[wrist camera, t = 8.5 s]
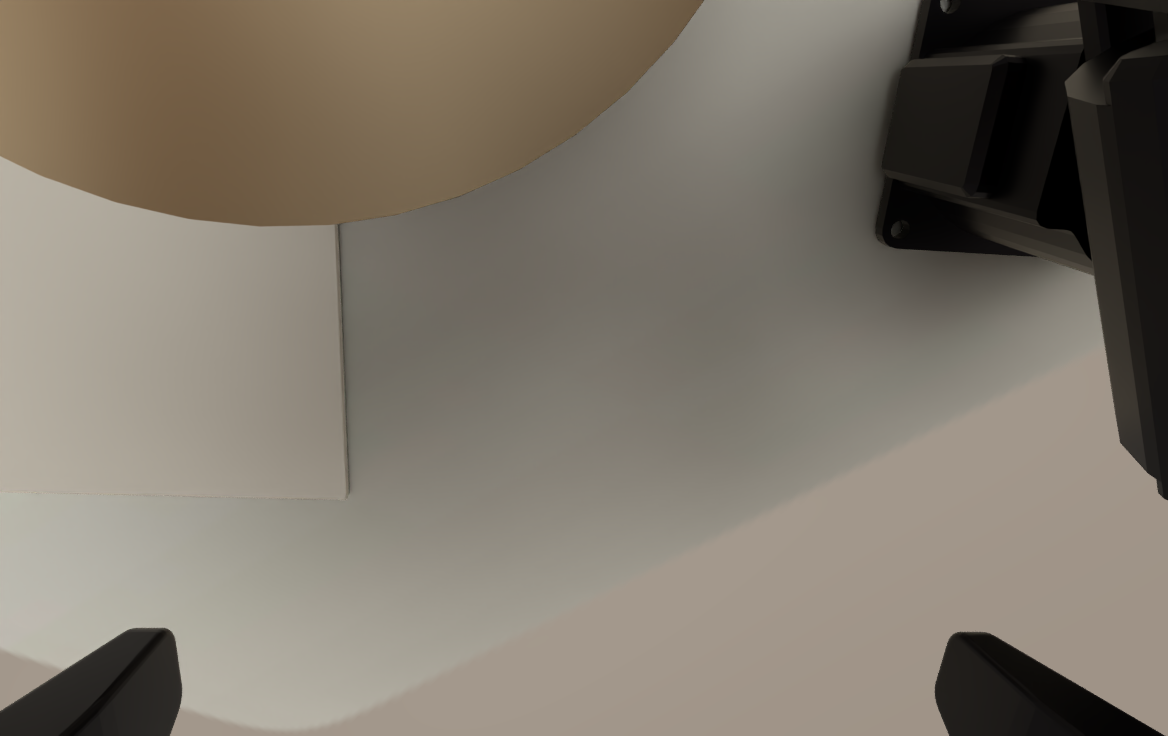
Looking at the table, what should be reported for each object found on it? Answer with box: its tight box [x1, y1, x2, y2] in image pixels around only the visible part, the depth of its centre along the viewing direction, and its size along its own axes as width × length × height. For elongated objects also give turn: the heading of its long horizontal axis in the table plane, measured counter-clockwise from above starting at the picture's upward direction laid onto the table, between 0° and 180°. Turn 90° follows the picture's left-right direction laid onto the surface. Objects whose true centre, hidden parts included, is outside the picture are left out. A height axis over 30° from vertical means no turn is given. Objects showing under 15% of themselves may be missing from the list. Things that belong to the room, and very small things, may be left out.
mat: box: [0, 156, 349, 500], centre depth 19 cm, size 13×13×1 cm
